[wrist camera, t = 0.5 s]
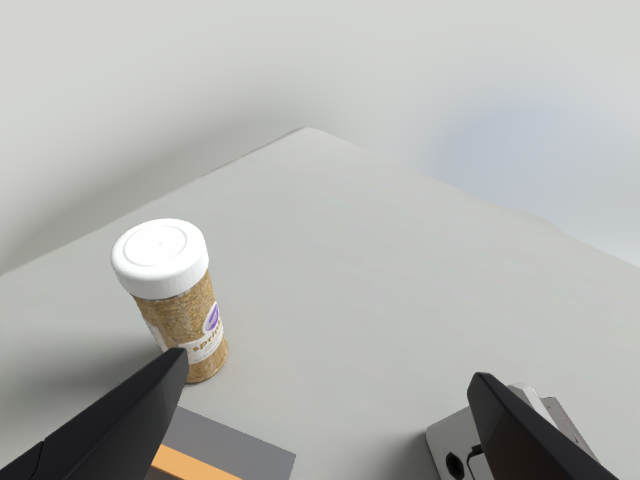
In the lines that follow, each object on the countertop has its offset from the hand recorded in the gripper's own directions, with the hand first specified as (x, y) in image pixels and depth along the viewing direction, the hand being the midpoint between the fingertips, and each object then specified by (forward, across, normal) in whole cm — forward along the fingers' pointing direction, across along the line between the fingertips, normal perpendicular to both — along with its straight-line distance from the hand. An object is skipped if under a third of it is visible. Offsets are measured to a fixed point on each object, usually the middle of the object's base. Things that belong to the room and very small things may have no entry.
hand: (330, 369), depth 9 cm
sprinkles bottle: (+12, +9, +13) cm, 20 cm away
